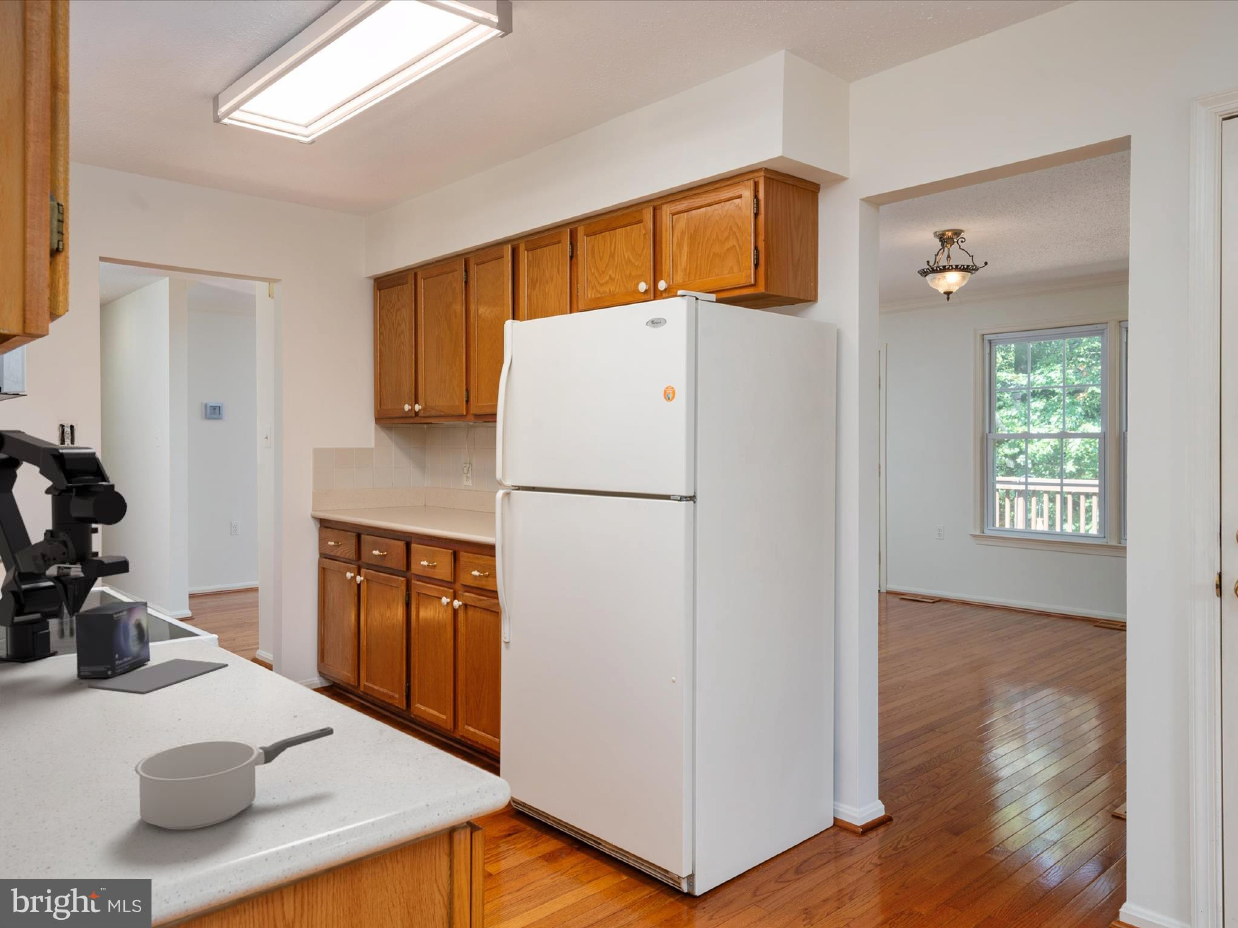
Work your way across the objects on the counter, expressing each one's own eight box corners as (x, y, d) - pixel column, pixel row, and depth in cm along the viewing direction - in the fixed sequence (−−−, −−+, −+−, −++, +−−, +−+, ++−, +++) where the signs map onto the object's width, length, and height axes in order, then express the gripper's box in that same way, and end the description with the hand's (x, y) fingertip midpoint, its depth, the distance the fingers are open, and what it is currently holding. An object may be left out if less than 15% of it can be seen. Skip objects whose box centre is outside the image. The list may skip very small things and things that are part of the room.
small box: (116, 677, 138) (111, 611, 138) (75, 679, 138) (71, 613, 138) (153, 660, 149) (149, 599, 148) (115, 662, 149) (111, 601, 149)
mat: (88, 686, 134) (88, 685, 134) (176, 660, 150) (176, 658, 150) (144, 693, 131) (144, 691, 131) (228, 665, 147) (228, 663, 147)
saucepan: (354, 790, 95) (354, 740, 95) (154, 849, 82) (153, 790, 82) (310, 762, 104) (310, 715, 104) (122, 810, 90) (121, 757, 90)
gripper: (-18, 524, 141) (-16, 621, 141) (70, 529, 135) (72, 629, 135) (47, 518, 151) (48, 608, 152) (131, 522, 146) (132, 615, 146)
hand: (73, 615), depth 146 cm, fingers closed
